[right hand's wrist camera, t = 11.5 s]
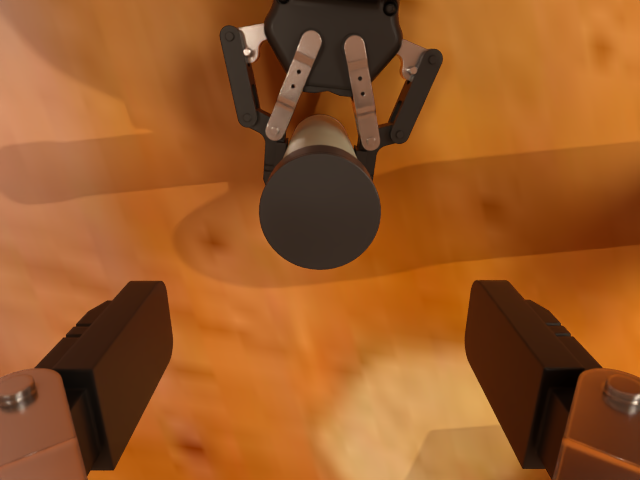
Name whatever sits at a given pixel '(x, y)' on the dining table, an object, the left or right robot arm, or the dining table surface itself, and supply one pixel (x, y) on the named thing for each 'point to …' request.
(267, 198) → the lid
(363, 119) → the left robot arm
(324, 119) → the jar
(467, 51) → the dining table surface
